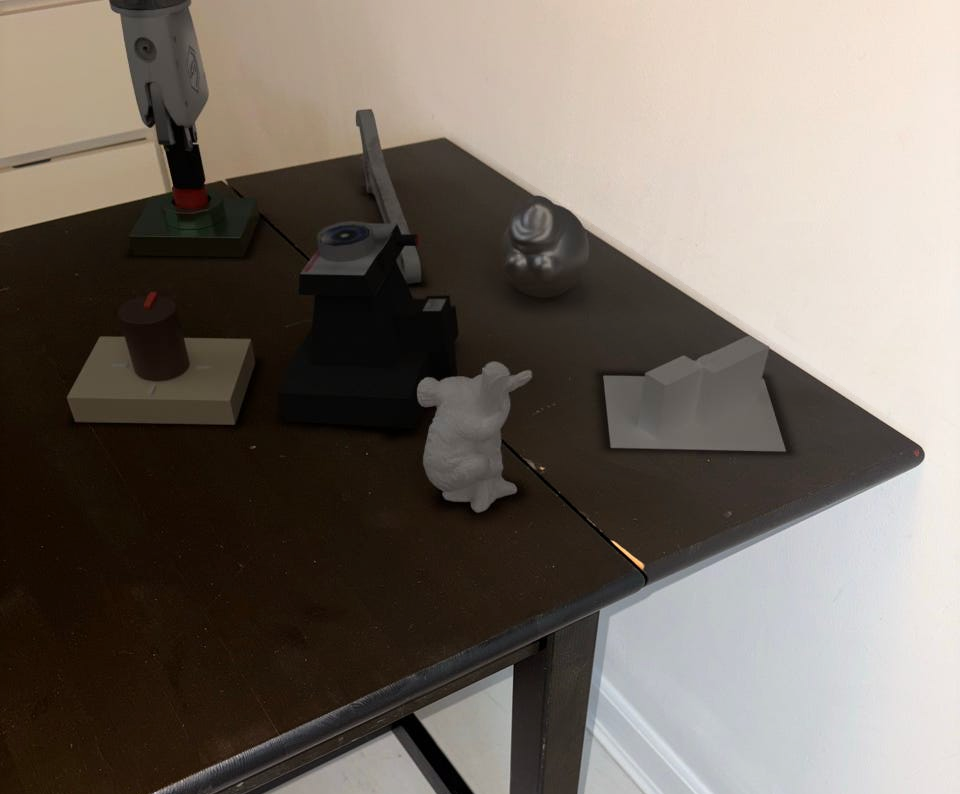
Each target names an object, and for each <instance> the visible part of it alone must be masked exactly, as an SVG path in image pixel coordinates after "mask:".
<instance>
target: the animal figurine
mask: <svg viewBox="0 0 960 794" xmlns="http://www.w3.org/2000/svg"><path fill="white" fill-rule="evenodd" d="M531 379H533V372H532V370H530V369H526V370H522V371H521V372H519V373H517V374H511V372H510V370H509V368H508V367H507V366H505V365H504V363H501V362H499V361H490V362H488V363H486V364H485V366H483V367H482V368H481V374H478V375H476V376H474V377H472V378H470V377H468V376H464V375H462V376H460V375H457V377H449V378H445V379H443V380H441V381H437V380H436V379H434V378H429V377H426V378H424V380H421V382H420V383H419V385H418V388H417V398H418V402H419V403H420V405H421V406H424V407H425V408H429V407H436V411H435V413H434V417H433V418H432V423H431V424H430V425H429V427H428V433H427V437H426V441H425V445H424V451H423V452H424V453H423V455H422V465H423V468H424V471H425V474H426V476H427V478H428V481H429V482H430V483H431V484H432V485H433V486H434V487H436V488H437V489H438V490H440V491H442V497H443V499H444V500H446V501H449V502H454V503H456V502H458V503H459V502H460V503H467V502H469V503H470V508H471V509H472V510H473V511H474V512H475V513H477V514H478V513H482V512H485V511H486V510H488V509H489V508H490V506H491V504H493V503H495V501H496V500H497V499H501V498H504V497H507V496H511V495H514V494H516V493H517V492H518V487H517V486H516V484H514V482H511V481H507V480H505V478H504V477H502V473H503V470H504V464H503V454H502V450H501V447H502V442H503V440H502V433H501V431H502V430H501V429H502V427H503V426H504V424H505V423H506V421H507V419H508V415H509V414H510V411H511V398H510V394H509V393H510V392H514V391H515V390H516V389H518V388H520V387H523V386H525V385H526V384H527V383H528V382H530V381H531Z"/></svg>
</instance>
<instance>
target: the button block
mask: <svg viewBox="0 0 960 794" xmlns="http://www.w3.org/2000/svg"><path fill="white" fill-rule="evenodd" d="M206 190H207V195H208V200H209V203H207V204H205V205H203V206H201V207H196V208H180V207H177V206H175V202H174V197H173V193H172V191H171V192H169V193H167V194H165V195H164V196H160V195H157V196H156V195H154V196H151V197H150V199H149V200H148V203H147V204H146V206H145V208H144V209H143V210H142V212H141V214H140V216H139V218H138V219H137V221H136V223H135V224H134V226H133V228H132V229H131V231H130V233H129V234H128V238H129V242H130V246H131V249H132V253H133V256H143V257H145V256H148V257H204V258H206V257H207V258H209V257H211V258H212V257H215V258H244V257H245V256H246V252H247V250H248V248H249V246H250V243H251V240H252V237H253V235H254V233H255V231H256V227H257V225H258V222H259V220H260V217H261V215H260V209H259V203H258V198H257V197H230V196H229V197H228V196H227V197H226V196H225V197H223V196H222V194H221V193H220V192H219V191H218V190H216V189H215V190H214V189H211V188H208V187H206Z"/></svg>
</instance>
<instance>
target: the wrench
mask: <svg viewBox="0 0 960 794" xmlns="http://www.w3.org/2000/svg"><path fill="white" fill-rule="evenodd" d="M355 124H356V125H355V126H356V127H358V128H359V129H358V130H359V135H360V140H361V147H362V148H361V149H362V154H361V161H362V165H363V171H364V175H365V185H366V193H367V194H371V193H372V195H374V197H375V200H376V204H377V206H378V209H379V212H380V215H381V219H382V221H383V223H388V224H398V227H399V229H400V231H401V234H411V232H410V229H409V226H408V223H407V221H406V219H405V215H404V212H403V210H402V206H401V204H400V202H399V199H398V196H397V194H396V190H395V188H394V185H393V183H392V179H391V176H390V173H389V171H388V169H387V166H386V162H385V158H384V153H383V150H382V146H381V141H380V137H379V132H378V127H377V123H376V117H375V113H374V111H373V109H372V108H367V109H358V110H356V112H355ZM420 261H421V260H420V256H419V253H418V251H417V248H416V246H404V248H403V250H402V251H401V253H400V255H399V256H398V258H397V260H396V262H397V264H398V266H399V268H400V270H401V272H402V274H403V276H404V278H405V280H406V282H407V285H412V284H421V282H422V267H421V262H420Z"/></svg>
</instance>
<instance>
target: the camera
mask: <svg viewBox="0 0 960 794" xmlns="http://www.w3.org/2000/svg"><path fill="white" fill-rule="evenodd" d="M316 242H317V243H316V244H317V248H318V249H317V250H316V251H315V252H314V253H313V255H312V257H310V259H309V260H308V262H307V264H306V265H304V267H303V269H302V270H301V272H300V273H299V279H298V281H299V282H298V296H314V303H313V313H312V323H311V328H310V330H309V332H307V335H306V336H305V338H304V339H303V340H302V342H301V343H300V345H299V347H298V348H297V350H296V351H295V353H294V354H293V355H292V357H291V359H290V360H289V362H288V364H287V366H286V369H285V370H284V373H283V376H282V379H281V381H280V384H279V387H278V388H277V392H276V394H277V397H278V401H279V405H280V409H281V412H282V416H283V419H284V422H292V423H309V424H325V425H326V424H329V425H346V426H347V425H348V426H362V427H363V426H364V427H367V426H368V427H382V428H383V427H384V428H385V427H386V428H400V429H401V428H402V429H404V428H405V429H416V427H417V426H418V423H419V421H420V419H421V417H422V415H423V412H424V410H425V408H426V407H424V406H421V405H420V403H419V402H418V398H417V388H418V385H419V383H420V382H421V380H424V378H426V377H429V378H434V379H436V380H437V381H441V380H443V379H445V378H449V377H457V376H458V365H457V359H456V358H457V357H456V347H455V344H456V341H457V338H458V337H459V325H458V316H457V307H456V305H452V304H451V295H450V294H449V295H426V296H425V298H414V297H413V295H412V292H411V290H410V287H409V284H407V282H406V280H405V278H404V276H403V274H402V272H401V270H400V268H399V266H398V264H397V261H396V260H397V258H398V256H399V255H400V253H401V251H402V250H403V248H404V246H415V247H418V245H419V235H418V234H417V233H415V234H412V233H410V234H401V231H400V229H399V227H398V224H388V223H384V222H383V223H382V222H381V223H372V222H368V223H367V222H363V221H355V220H350V221H349V220H348V221H341V222H336V223H334V224H330V225H327V226H325V227H323V229H321V230H320V231H318V232H317V235H316Z"/></svg>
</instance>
